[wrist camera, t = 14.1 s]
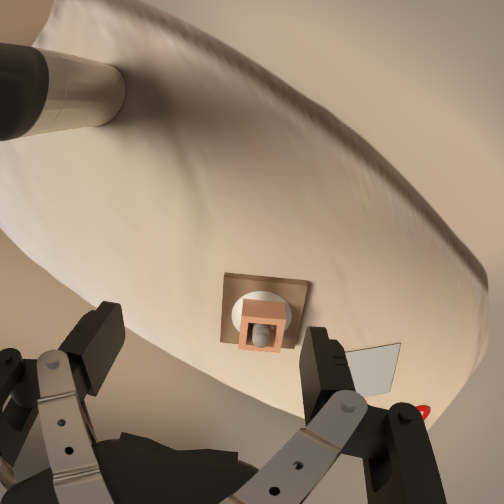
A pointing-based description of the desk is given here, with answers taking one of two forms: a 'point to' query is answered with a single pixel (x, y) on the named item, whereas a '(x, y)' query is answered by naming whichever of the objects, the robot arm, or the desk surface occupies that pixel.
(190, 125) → the desk surface
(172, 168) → the desk surface
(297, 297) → the post stand
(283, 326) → the collar
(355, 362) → the grey flat panel
